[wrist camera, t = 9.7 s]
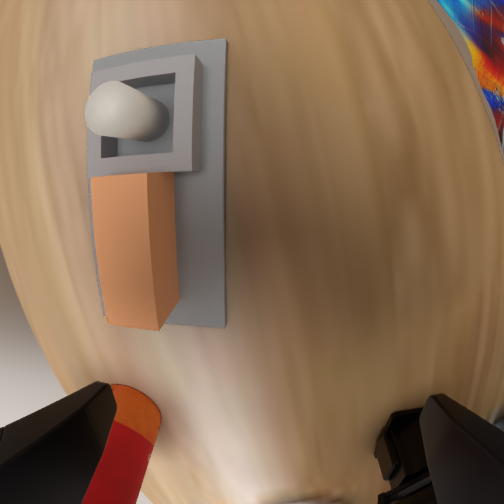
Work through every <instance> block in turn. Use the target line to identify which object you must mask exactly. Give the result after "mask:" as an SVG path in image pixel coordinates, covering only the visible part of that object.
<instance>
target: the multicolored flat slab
mask: <svg viewBox="0 0 504 504" xmlns="http://www.w3.org/2000/svg"><path fill="white" fill-rule="evenodd" d="M428 1H429V3H430V4H431V6H432V7H433V9H434V10H435V12H436V13H437V15H438V16H439V18H440V19H441V21H442V23H443V24H444V26H445V27H446V29H447V31H448V32H449V34H450V36H451V37H452V39H453V41H454V43H455V45H456V46H457V48H458V50H459V52H460V54H461V56H462V58H463V59H464V61H465V63H466V65H467V67H468V69H469V72H470V74H471V76H472V78H473V80H474V82H475V84H476V87H477V89H478V91H479V94H480V96H481V98H482V101H483V103H484V106H485V108H486V111H487V113H488V116H489V119H490V122H491V124H492V127H493V130H494V133H495V136H496V139H497V142H498V145H499V149H500V152H501V155H502V159H503V163H504V0H428Z"/></svg>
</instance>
